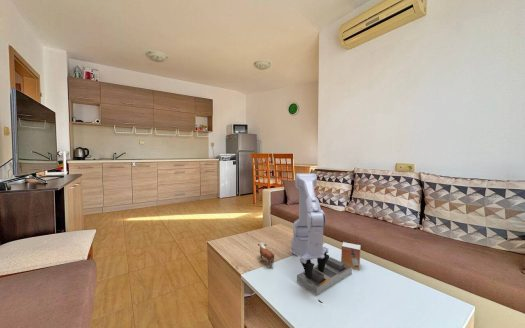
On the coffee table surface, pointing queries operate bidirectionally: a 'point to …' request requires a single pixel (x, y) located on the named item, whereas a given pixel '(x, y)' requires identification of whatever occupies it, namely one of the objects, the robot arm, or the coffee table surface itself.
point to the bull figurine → (266, 254)
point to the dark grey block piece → (317, 276)
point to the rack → (330, 279)
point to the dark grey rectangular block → (335, 264)
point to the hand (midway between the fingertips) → (314, 274)
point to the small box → (351, 255)
